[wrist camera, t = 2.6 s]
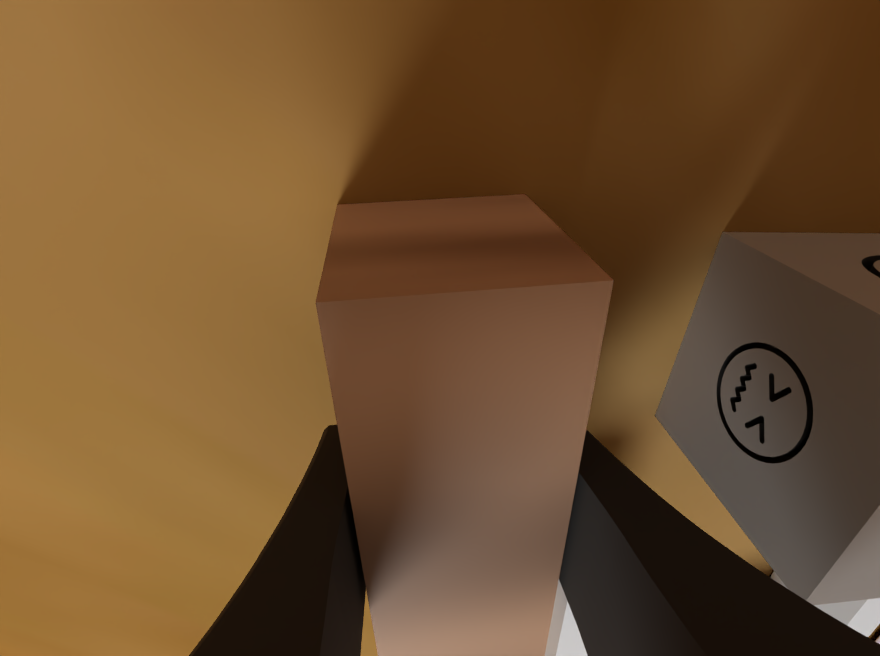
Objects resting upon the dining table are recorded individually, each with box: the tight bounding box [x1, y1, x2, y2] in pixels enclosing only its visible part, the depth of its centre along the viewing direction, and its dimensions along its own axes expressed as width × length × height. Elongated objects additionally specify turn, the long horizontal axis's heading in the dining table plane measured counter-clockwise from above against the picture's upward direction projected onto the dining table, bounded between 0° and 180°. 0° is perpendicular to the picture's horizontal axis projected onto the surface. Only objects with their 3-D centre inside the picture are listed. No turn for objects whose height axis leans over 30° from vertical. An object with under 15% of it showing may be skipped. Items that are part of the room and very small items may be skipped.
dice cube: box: [655, 232, 880, 605], centre depth 9 cm, size 5×5×5 cm
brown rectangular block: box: [316, 194, 614, 656], centre depth 10 cm, size 10×4×4 cm, turn 1°
